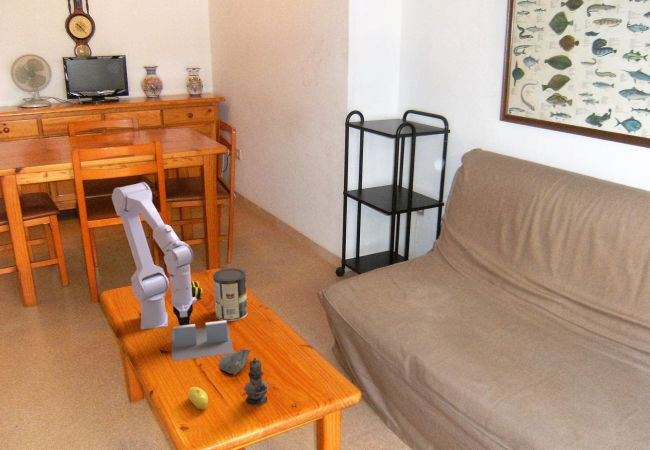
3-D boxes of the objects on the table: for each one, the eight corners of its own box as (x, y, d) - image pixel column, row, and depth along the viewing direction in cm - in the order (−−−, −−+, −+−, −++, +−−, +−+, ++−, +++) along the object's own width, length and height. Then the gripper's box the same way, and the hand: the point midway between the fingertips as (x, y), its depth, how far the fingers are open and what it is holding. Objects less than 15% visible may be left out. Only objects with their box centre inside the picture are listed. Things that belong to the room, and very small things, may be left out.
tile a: (175, 344, 174) (173, 326, 172) (196, 342, 175) (194, 323, 173) (175, 347, 172) (173, 329, 170) (196, 344, 174) (195, 326, 172)
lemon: (195, 414, 143) (194, 401, 142) (186, 397, 150) (184, 384, 149) (212, 409, 145) (211, 396, 144) (202, 392, 152) (201, 379, 151)
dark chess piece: (245, 393, 152) (243, 351, 148) (268, 392, 152) (267, 350, 148) (244, 407, 146) (242, 364, 142) (268, 406, 147) (267, 363, 143)
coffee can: (238, 304, 200) (236, 265, 195) (253, 316, 191) (251, 276, 187) (210, 312, 194) (207, 272, 190) (223, 325, 186) (221, 283, 181)
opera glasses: (202, 302, 204) (204, 288, 203) (187, 302, 201) (189, 288, 200) (195, 291, 212) (197, 278, 211) (180, 291, 209) (182, 277, 208)
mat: (171, 333, 181) (171, 332, 181) (227, 326, 185) (227, 325, 185) (172, 362, 166) (172, 361, 165) (234, 354, 170) (234, 353, 170)
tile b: (206, 341, 176) (205, 322, 174) (227, 338, 177) (226, 320, 175) (207, 343, 174) (205, 325, 173) (227, 341, 176) (226, 322, 174)
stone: (216, 384, 157) (252, 373, 157) (211, 371, 156) (247, 360, 156) (221, 366, 168) (255, 355, 168) (216, 353, 167) (250, 343, 167)
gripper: (196, 295, 166) (200, 338, 171) (193, 275, 180) (197, 315, 184) (170, 297, 165) (174, 341, 169) (169, 277, 178) (173, 318, 182)
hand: (184, 328), depth 176 cm, fingers closed
